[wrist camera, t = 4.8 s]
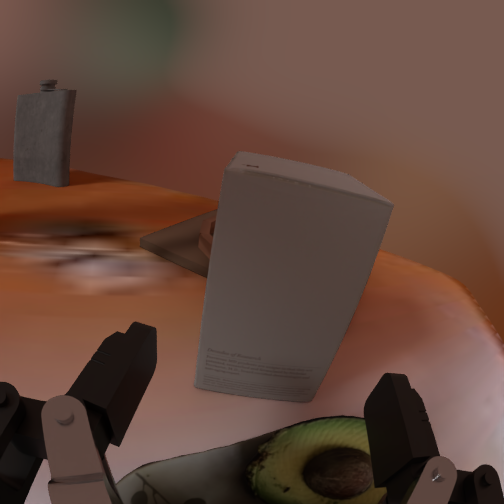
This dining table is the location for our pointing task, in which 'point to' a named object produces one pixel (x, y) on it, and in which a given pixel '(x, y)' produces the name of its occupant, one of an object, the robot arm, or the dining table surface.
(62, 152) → the hip flask
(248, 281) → the supplement box
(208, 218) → the ring holder
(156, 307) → the dining table surface
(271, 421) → the dining table surface
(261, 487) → the salad plate
